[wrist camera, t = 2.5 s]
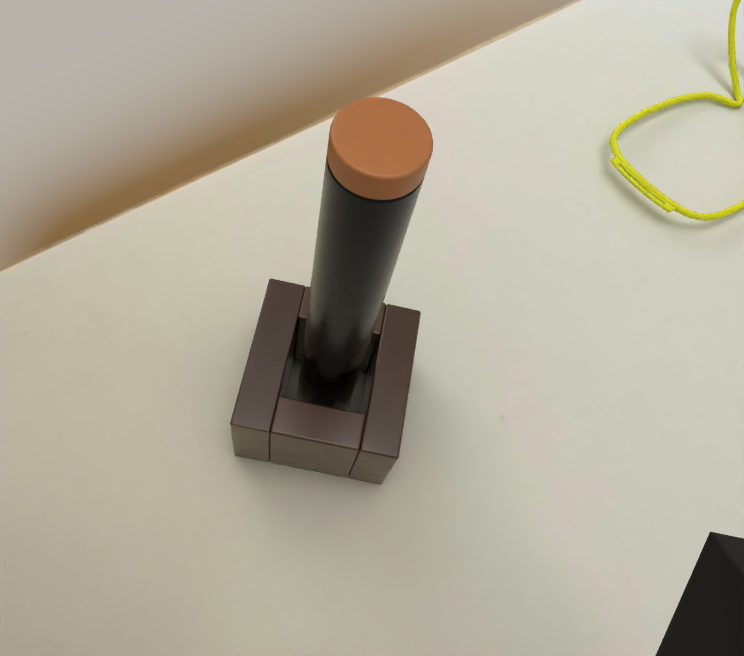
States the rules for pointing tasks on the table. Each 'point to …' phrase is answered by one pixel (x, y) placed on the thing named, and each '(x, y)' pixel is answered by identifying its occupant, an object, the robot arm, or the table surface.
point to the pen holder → (318, 422)
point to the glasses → (618, 158)
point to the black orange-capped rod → (359, 238)
